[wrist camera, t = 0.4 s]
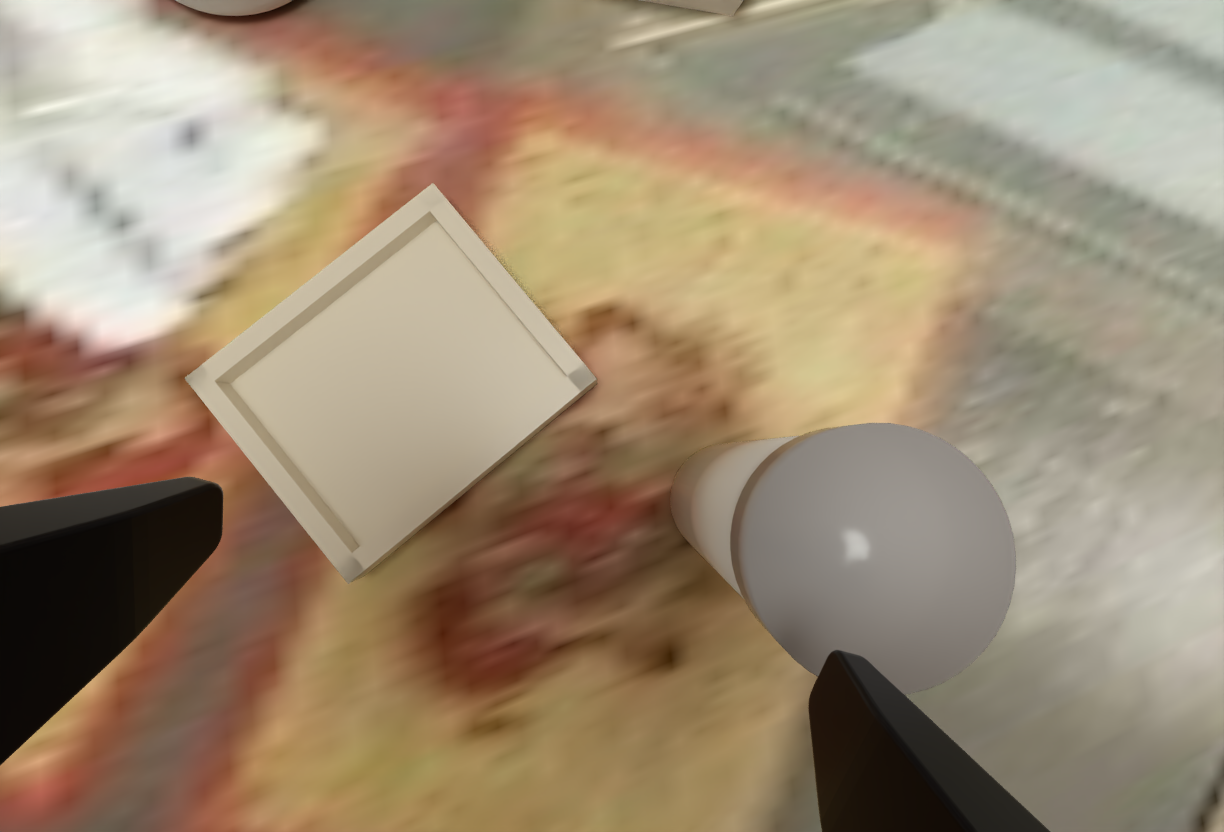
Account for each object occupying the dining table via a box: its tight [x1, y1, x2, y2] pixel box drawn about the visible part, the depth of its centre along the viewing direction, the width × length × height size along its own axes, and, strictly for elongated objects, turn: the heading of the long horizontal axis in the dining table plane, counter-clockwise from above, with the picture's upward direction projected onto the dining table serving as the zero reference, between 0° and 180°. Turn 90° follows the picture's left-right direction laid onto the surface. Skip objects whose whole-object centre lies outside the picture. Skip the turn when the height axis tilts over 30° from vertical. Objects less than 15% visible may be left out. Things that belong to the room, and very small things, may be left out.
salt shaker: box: [670, 423, 1016, 694], centre depth 17 cm, size 5×5×13 cm
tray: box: [185, 183, 597, 584], centre depth 23 cm, size 12×10×2 cm
